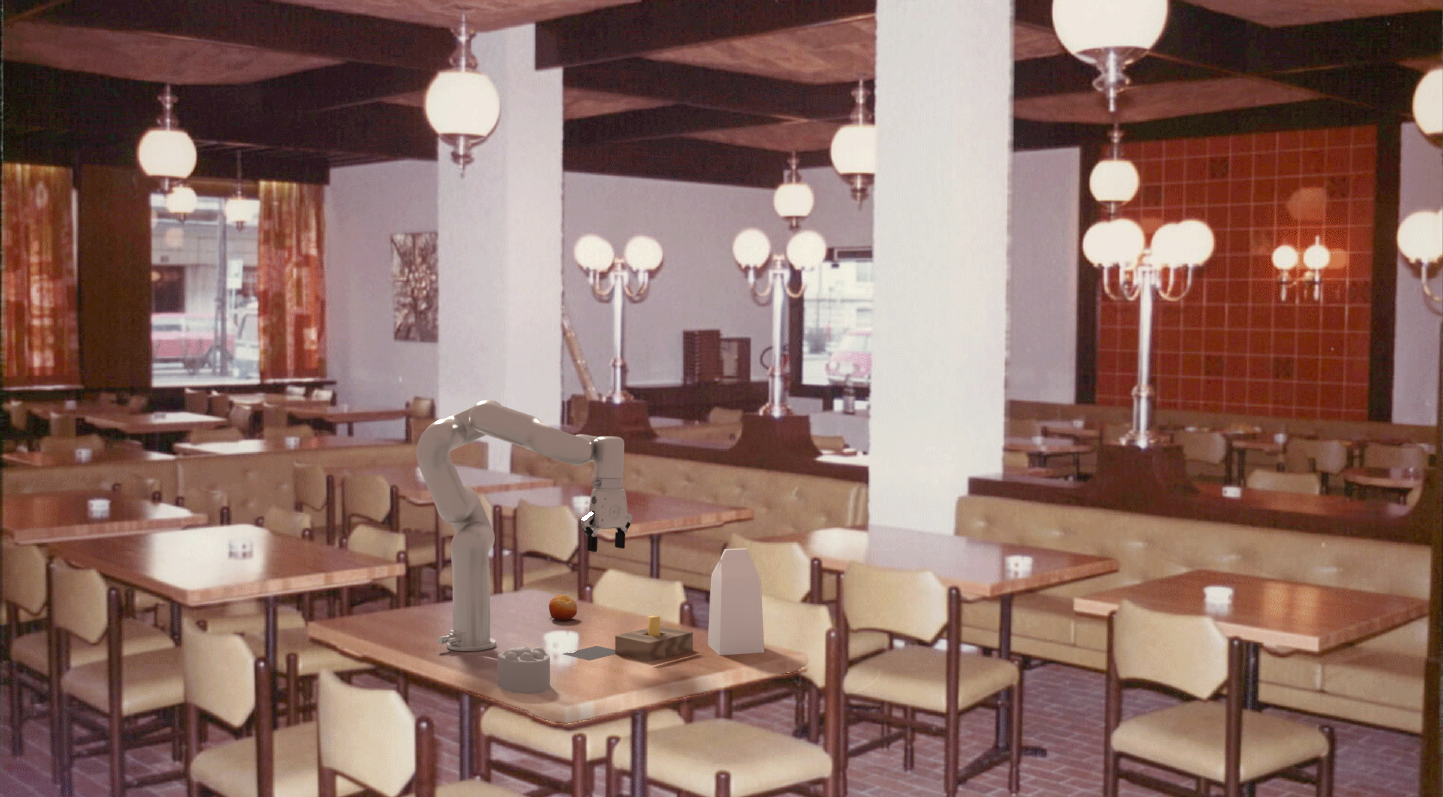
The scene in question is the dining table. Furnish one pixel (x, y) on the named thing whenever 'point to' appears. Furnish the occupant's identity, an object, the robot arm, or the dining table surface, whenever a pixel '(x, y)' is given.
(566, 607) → the fruit
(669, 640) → the hole block
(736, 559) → the milk
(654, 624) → the peg
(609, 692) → the dining table surface
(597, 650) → the mat
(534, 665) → the lumpy-topped squat cylinder
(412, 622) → the dining table surface
